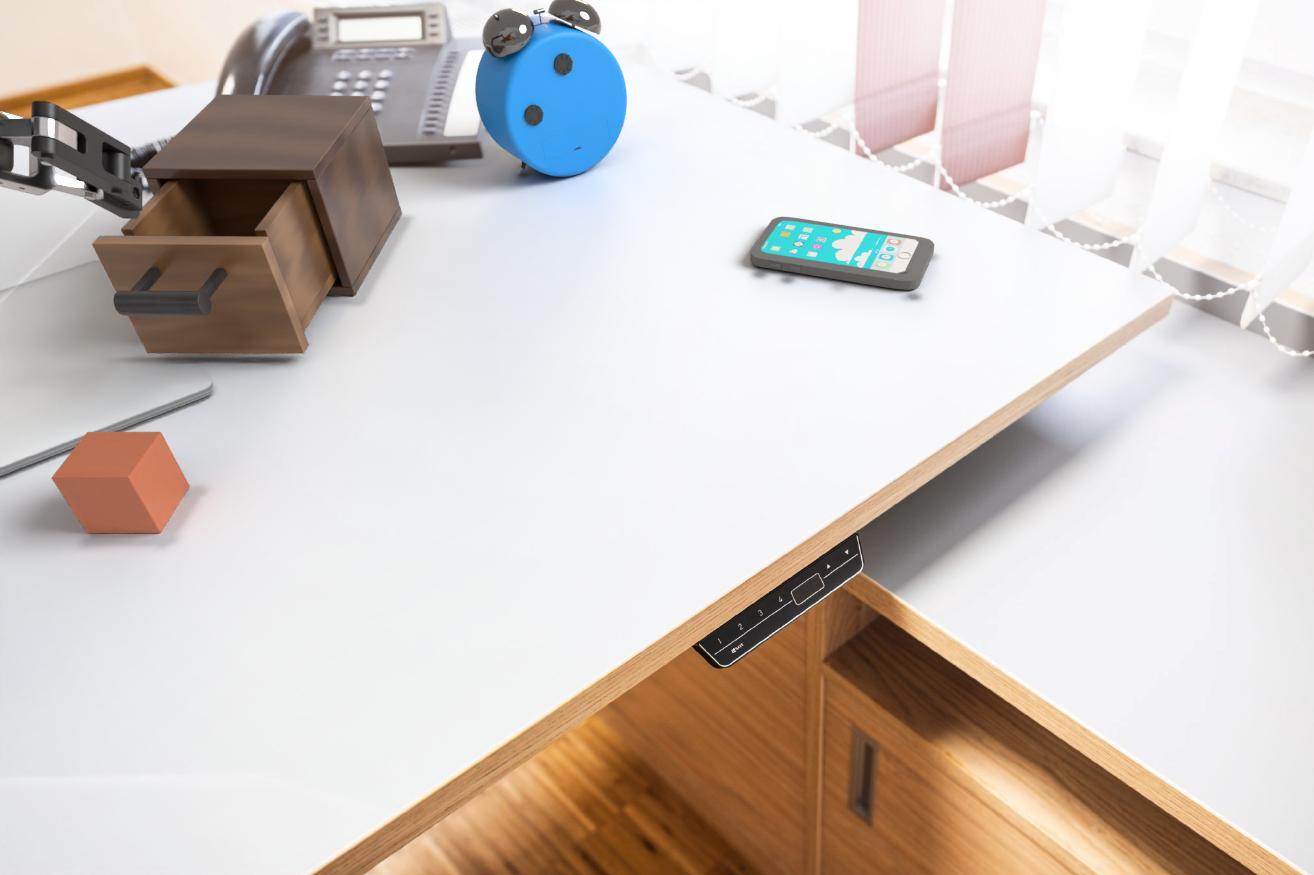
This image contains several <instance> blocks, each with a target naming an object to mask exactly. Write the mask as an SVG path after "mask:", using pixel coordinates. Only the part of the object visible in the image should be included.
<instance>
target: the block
mask: <svg viewBox="0 0 1314 875" xmlns="http://www.w3.org/2000/svg"><path fill="white" fill-rule="evenodd" d="M51 480H52V482H53V483H54V485H55V486H56V488H57V489H58V491H59V493H60V494H61V496H62V498H63V499H64V500H65V502H66V504H67V505H68V507H69V508H70V509H71V511H72V513H73V514H74V515H75V517H76V518H77V520H78V522H79V523H80V525H81V526H82V529H83V530H84V531H85V532H86V534H161V533H162V531H163V530H164V528H165V527H166V525H167V523H168V522H169V520H170V519H171V517H172V516H173V514H174V513H175V511H176V509H177V507H178V506H179V505H180V503H181V501H182V500H183V498H184V496H185V495H186V493H187V492H188V490H190V484H189V482H188V480H187V478H186V476H185V474H184V472H183V470H182V468H181V466H180V465H179V463H178V461H177V459H176V457H175V456H174V454H173V452H172V450H171V447H170V446H169V445H168V442H167V440H166V438H165V437H164V434H163V433H162V432H161V431H87V432H86V433H85V434H84V436H83V437H82V438H81V439H80V440H79V442H78V443H77V444H76V446H75V447H74V448H73V450H71V452H70V454H68V456H67V457H66V458H65V459H64V461H63V462H62V463H61V465H60V466H59V467H58V469H57V470H56V471H55V472H54V473H53V475H52V476H51Z"/></svg>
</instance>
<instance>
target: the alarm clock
mask: <svg viewBox="0 0 1314 875" xmlns="http://www.w3.org/2000/svg"><path fill="white" fill-rule="evenodd" d="M532 12H533V15H532V16H531V15H530V16H529V15H528V14H527V13H526V12H524V11H523V10H521V9H518V8H513V7H512V8H511V7H510V8H508V7H507V8H503V9H500V10H498V11H495V13H492V15H491V16H490V17H489V18H488V19H487V20H486V22H485V24H484V26H483V29H482V34H481V38H482V39H481V40H482V45H483V47H484V51H483V53H482V55H481V57H480V59H479V63H478V66H477V70H476V75H475V84H474V92H475V93H474V94H475V103H476V108H477V111H478V115H479V117H480V120H481V123H482V124H483V126H484V128H485V130H486V132H487V133H488V134H489V136H490V137H491V139H492V140H493V141H494V142H495V143H496V144H497V145H498V146H500V148H502V149H503V150H504V151H506V152H507V153H509V154H511V155H512V156H513V157H514V158H516V159H518V160H520V161H521V162H520V164H521V165H520V169H521V170H525V169H526V166H529V167H531V168H532V169H534V170H535V171H537V172H539V173H540V174H541V173H542V174H545V175H548V176H552V177H573V176H576V175H580V174H582V173H584V172H587V171H589V170H591V169H592V168H593V167H595V166H596V165H598V164H599V163H600V162H601V161H602V160H603V159H605V157H607V155H608V154H609V153H610V152H611V151H612V149H613V147H614V146H615V144H616V143H617V141H618V139H619V137H620V136H621V133H622V130H623V127H624V124H625V120H626V116H627V107H628V94H627V85H626V80H625V76H624V74H623V70H622V68H621V66H620V63H619V62H618V60H617V58H616V56H615V55H614V54H613V53H612V51H611V50H610V49H609V48H608V47H607V46H606V45H605V44H604V43H603V42H602V41H600V40H599V39H597V37H594V36H592V35H591V34H590V33H593V34H596V35H601V33H602V27H603V26H602V20H601V18H600V15H599V14H598V11H596V9H595V8H594V7H593V6H592V5H591V4H590V3H588V2H586V1H584V0H553V1H551V3H550V4H549V6H548V9H547V14H549V15H551V16H546V15H541V14H544V13H546V9H545V8H544V7H543V8H542V7H541V8H538V9H533V11H532ZM552 16H553V17H552ZM579 28H580V29H579ZM581 29H583V30H585V31H588V32H590V33H587V32H585V31H583V30H581Z"/></svg>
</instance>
